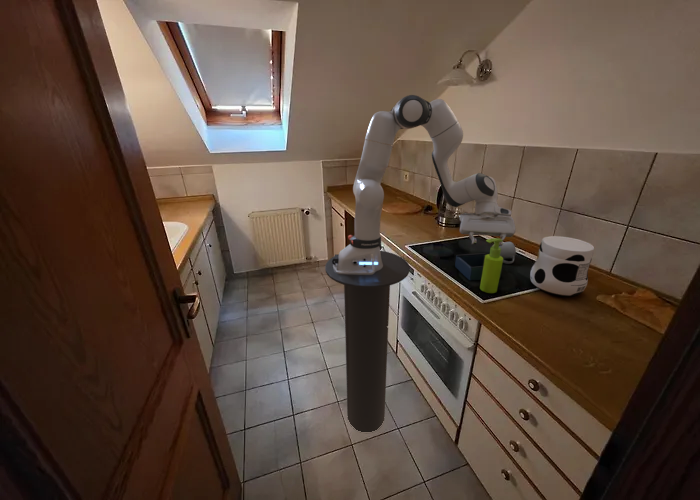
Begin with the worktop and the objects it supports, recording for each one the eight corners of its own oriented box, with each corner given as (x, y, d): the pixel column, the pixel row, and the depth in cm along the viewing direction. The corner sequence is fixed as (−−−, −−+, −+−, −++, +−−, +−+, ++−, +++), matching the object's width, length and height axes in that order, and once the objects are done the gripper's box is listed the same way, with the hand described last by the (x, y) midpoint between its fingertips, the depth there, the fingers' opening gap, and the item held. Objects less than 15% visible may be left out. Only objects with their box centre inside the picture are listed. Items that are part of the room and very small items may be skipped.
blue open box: (469, 280, 117) (471, 267, 115) (454, 266, 129) (456, 254, 127) (500, 278, 119) (502, 265, 117) (482, 264, 131) (484, 252, 129)
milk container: (528, 273, 122) (538, 232, 115) (580, 283, 114) (594, 239, 107) (527, 292, 108) (538, 246, 101) (586, 305, 100) (602, 256, 93)
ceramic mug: (488, 255, 140) (491, 240, 136) (504, 254, 140) (507, 239, 137) (501, 265, 130) (504, 249, 127) (518, 264, 131) (522, 248, 128)
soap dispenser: (474, 286, 113) (482, 237, 105) (490, 284, 114) (499, 235, 106) (483, 294, 108) (492, 242, 100) (500, 292, 109) (510, 241, 101)
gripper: (460, 208, 120) (460, 239, 115) (516, 210, 116) (518, 243, 111) (458, 216, 126) (457, 245, 121) (510, 218, 122) (512, 249, 117)
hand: (487, 244), depth 116 cm, fingers open, 8 cm apart
